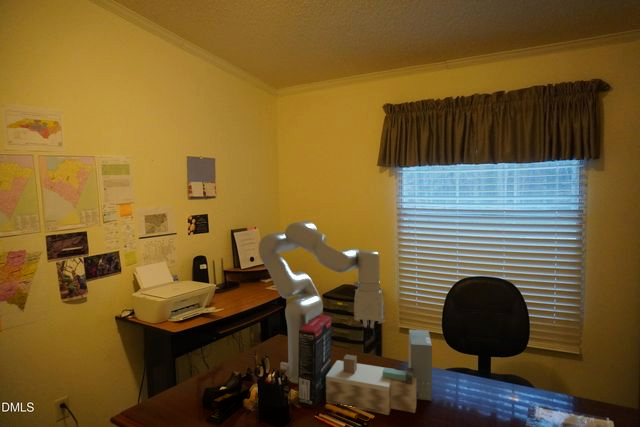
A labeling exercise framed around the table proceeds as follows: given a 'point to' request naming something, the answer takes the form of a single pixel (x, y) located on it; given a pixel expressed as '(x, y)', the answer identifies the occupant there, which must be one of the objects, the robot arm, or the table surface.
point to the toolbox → (375, 395)
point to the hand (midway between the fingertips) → (369, 337)
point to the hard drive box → (421, 362)
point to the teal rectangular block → (395, 374)
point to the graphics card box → (314, 360)
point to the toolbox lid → (358, 374)
